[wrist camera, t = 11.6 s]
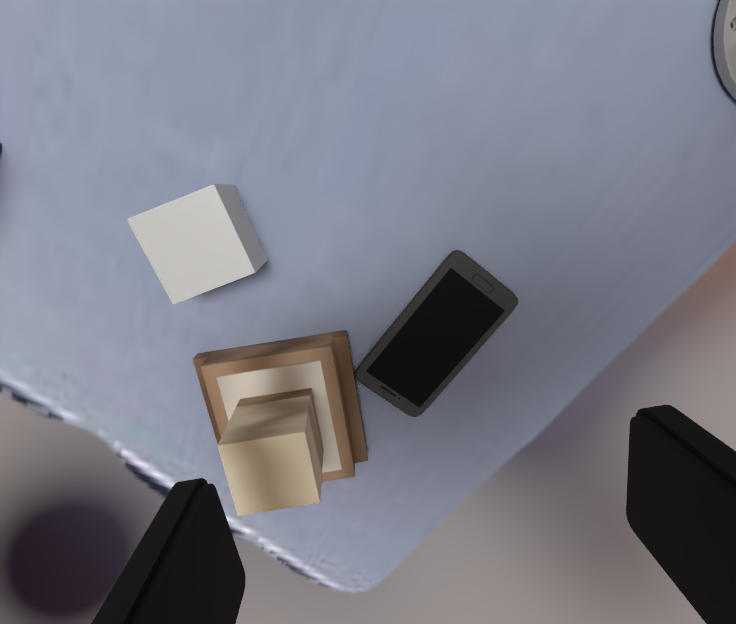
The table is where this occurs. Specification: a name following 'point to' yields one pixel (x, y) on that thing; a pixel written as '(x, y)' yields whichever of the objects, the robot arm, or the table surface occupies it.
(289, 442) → the tan cube
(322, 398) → the dock
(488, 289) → the cell phone
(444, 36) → the table surface
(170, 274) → the white cube
